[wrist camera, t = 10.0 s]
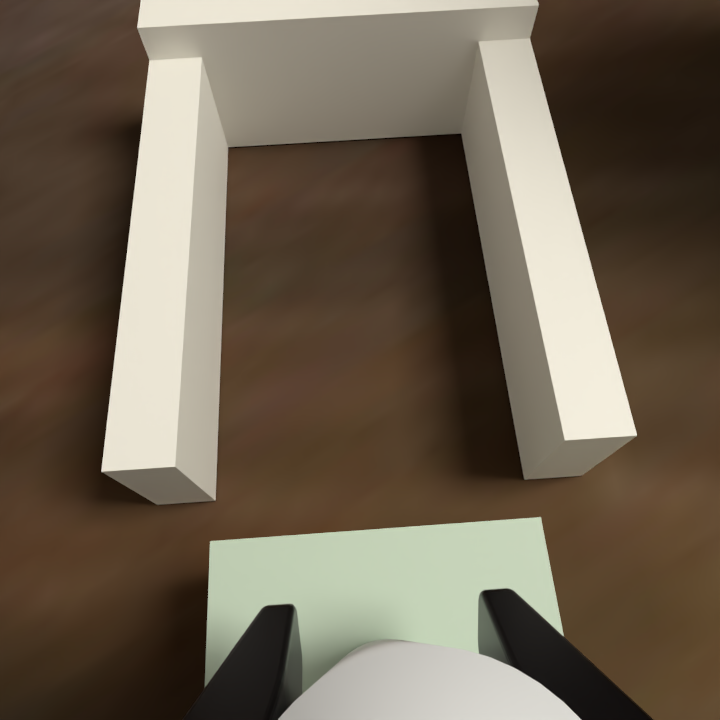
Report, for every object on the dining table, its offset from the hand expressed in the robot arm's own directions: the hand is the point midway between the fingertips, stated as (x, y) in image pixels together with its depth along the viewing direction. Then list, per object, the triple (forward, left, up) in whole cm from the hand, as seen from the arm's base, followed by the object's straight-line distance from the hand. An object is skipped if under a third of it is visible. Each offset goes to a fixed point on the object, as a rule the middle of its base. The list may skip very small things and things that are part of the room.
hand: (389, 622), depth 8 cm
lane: (+5, +8, -7) cm, 12 cm away
